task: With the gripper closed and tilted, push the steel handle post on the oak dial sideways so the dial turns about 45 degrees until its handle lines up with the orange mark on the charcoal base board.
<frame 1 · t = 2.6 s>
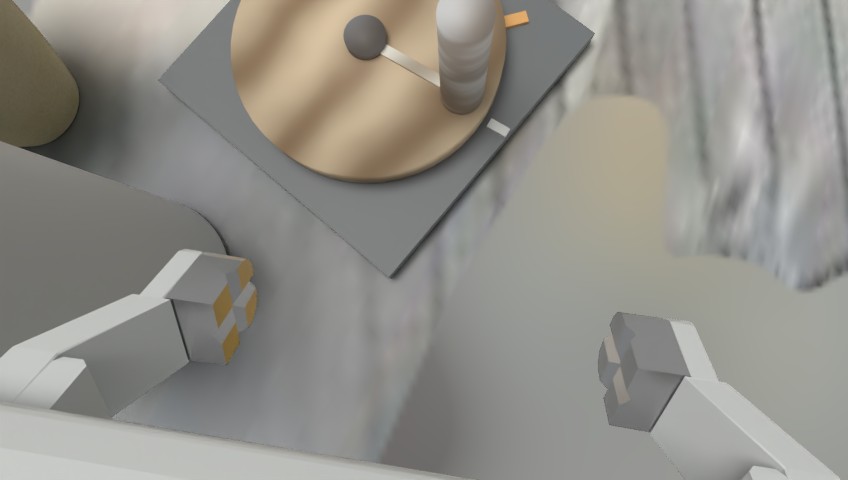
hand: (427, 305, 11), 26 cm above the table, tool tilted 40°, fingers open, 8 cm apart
plant pot: (37, 103, 41), on the table
dial base: (374, 66, 40), on the table
cylinder vase: (157, 280, 39), on the table
dial: (355, 8, 32), point 8 cm above the table, hinge at 0.0°
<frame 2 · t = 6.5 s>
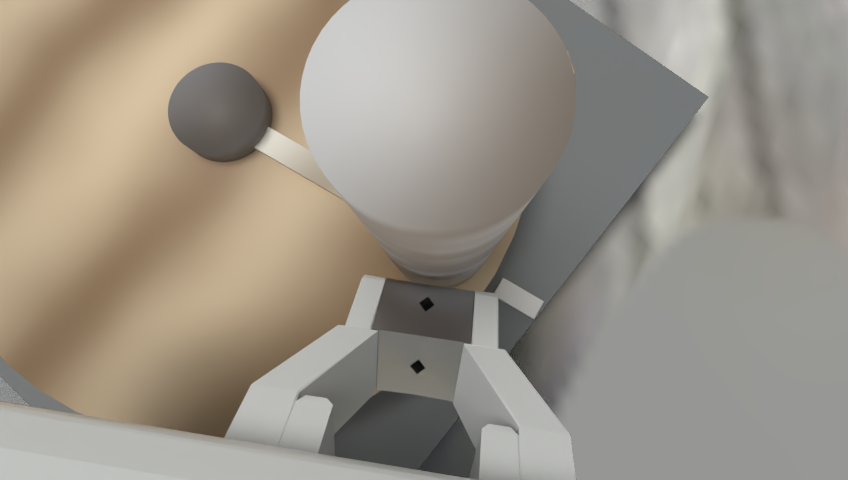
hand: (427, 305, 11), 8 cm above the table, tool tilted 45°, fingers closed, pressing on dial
dial base: (268, 157, 20), on the table
dial: (157, 51, 12), point 8 cm above the table, hinge at 0.1°, touching gripper
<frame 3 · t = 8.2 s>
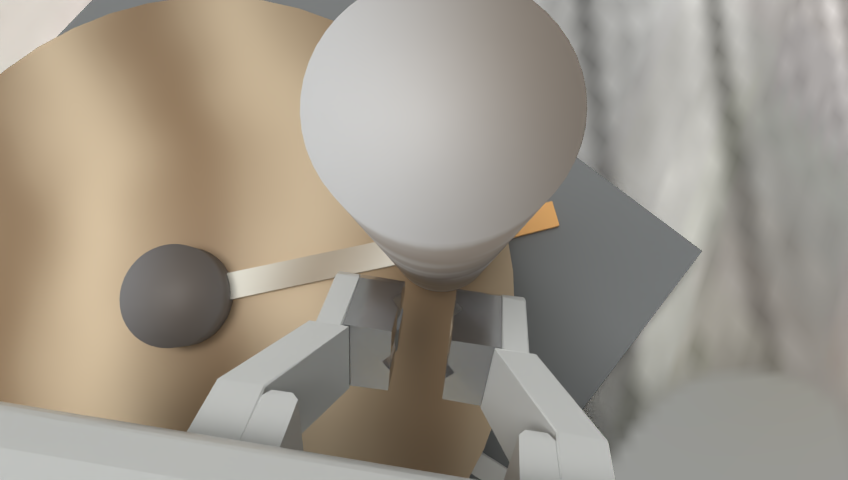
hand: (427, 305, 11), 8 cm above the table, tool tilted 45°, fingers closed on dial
dial base: (237, 300, 19), on the table
dial: (93, 289, 11), point 8 cm above the table, hinge at 42.6°, touching gripper
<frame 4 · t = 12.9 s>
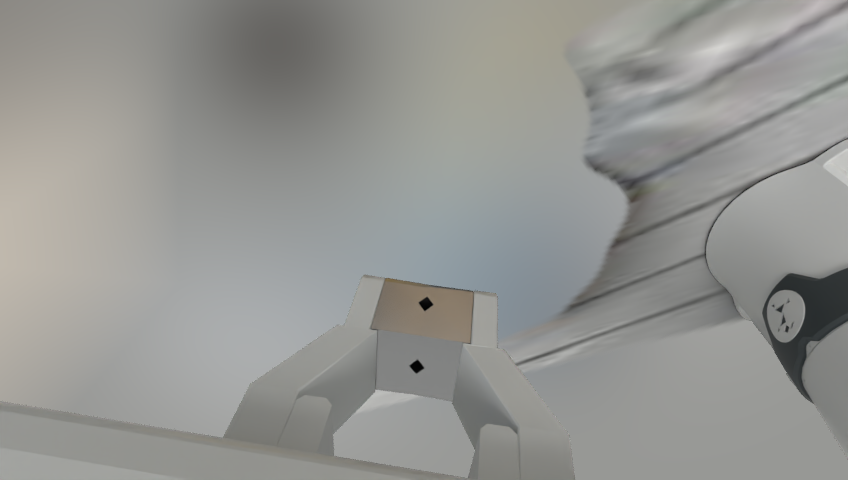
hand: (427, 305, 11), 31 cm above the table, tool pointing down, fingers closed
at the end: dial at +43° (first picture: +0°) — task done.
